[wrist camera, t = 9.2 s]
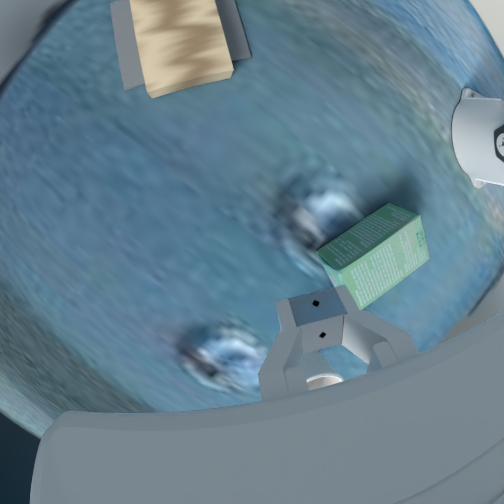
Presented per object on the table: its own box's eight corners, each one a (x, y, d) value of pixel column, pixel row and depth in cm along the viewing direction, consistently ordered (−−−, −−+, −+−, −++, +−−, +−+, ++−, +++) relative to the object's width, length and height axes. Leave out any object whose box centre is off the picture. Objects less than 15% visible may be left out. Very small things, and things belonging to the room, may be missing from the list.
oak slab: (230, 78, 27) (205, -12, 22) (233, 69, 24) (207, -25, 19) (152, 98, 27) (134, 6, 21) (147, 92, 23) (128, -6, 18)
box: (312, 251, 37) (337, 275, 30) (387, 200, 37) (421, 212, 30) (332, 290, 40) (356, 317, 33) (400, 240, 40) (432, 257, 33)
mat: (225, -24, 22) (226, -26, 21) (250, 58, 27) (251, 57, 27) (110, 4, 21) (110, 3, 20) (125, 91, 26) (124, 90, 26)
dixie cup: (259, 357, 42) (274, 404, 33) (298, 321, 41) (323, 365, 31) (293, 376, 45) (311, 419, 36) (329, 345, 44) (355, 385, 34)
